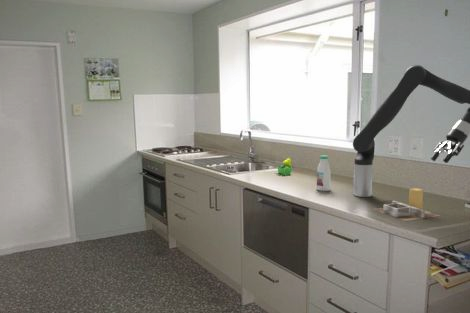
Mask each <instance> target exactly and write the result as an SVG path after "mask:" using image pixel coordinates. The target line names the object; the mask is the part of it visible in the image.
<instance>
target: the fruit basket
mask: <svg viewBox="0 0 470 313" xmlns="http://www.w3.org/2000/svg"><path fill="white" fill-rule="evenodd" d="M282 163H283V164H281V165H276V168H277V172H278V174H280V175H282V176H290V175H291V173H292V170H293V167H292V166H291V165H292V160H291V157H287V158H286V159H285V160H283V162H282Z"/></svg>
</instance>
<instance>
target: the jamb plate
mask: <svg viewBox="0 0 470 313" xmlns="http://www.w3.org/2000/svg"><path fill="white" fill-rule="evenodd" d="M373 210H374V211H377V212H379V213H382V214H383V215H387V216H389V217H392V218H395V219H398V220H400V221H402V222H407V221H408V222H409V221H414V220H415V221H417V220H422V219H427V218H429V219H430V218H435V217H441V215H439V214H436V213H434V212H430V211H427V210H426V209H422V210H421V209H418V208H415V207H412V206H409V204H407V203H404V202H400V201H397V200H392V201H391V203H388V204H387V203H385V204H383V207H379V208H373Z"/></svg>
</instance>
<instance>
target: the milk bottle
mask: <svg viewBox="0 0 470 313" xmlns="http://www.w3.org/2000/svg"><path fill="white" fill-rule="evenodd" d="M328 158H329V156H328V155H325V154H324V155H319V164H318V165H317V168H316V190H318V191H322V192H323V191H324V192H327V191H330V190H331V167H330V165H329V161H328V160H329V159H328Z"/></svg>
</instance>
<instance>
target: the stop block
mask: <svg viewBox="0 0 470 313" xmlns="http://www.w3.org/2000/svg"><path fill="white" fill-rule="evenodd" d="M408 192H409V193H408V205H409V206H412V207H415V208H418V209H421V210H423V201H424V200H423V199H424V189H421V188H417V187H416V188H409V191H408Z"/></svg>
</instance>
